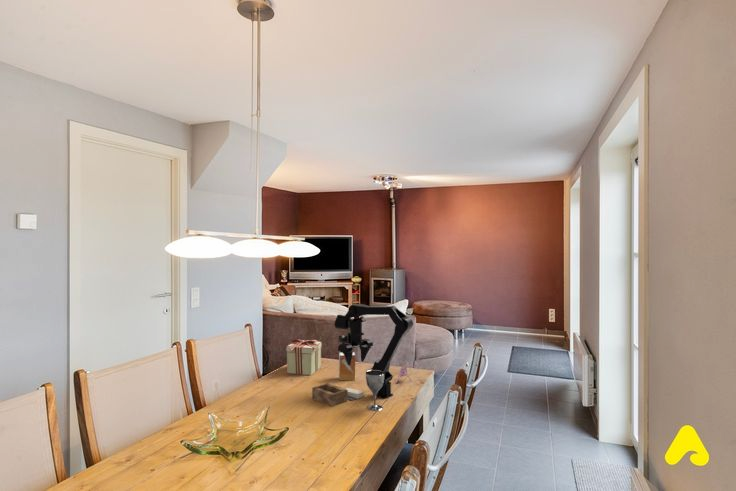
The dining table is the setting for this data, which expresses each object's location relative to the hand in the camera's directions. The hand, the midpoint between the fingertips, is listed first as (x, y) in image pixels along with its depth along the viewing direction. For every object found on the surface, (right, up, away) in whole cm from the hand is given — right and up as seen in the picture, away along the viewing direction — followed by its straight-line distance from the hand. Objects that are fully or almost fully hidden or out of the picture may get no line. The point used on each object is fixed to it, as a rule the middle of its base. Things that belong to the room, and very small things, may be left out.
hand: (355, 363), depth 202 cm
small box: (-5, -13, +18) cm, 23 cm away
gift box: (-29, -13, +31) cm, 44 cm away
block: (-1, -13, -8) cm, 15 cm away
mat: (-1, -13, -8) cm, 15 cm away
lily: (+24, -14, +15) cm, 31 cm away
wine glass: (+9, -13, -21) cm, 27 cm away
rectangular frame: (-11, -13, -13) cm, 21 cm away
